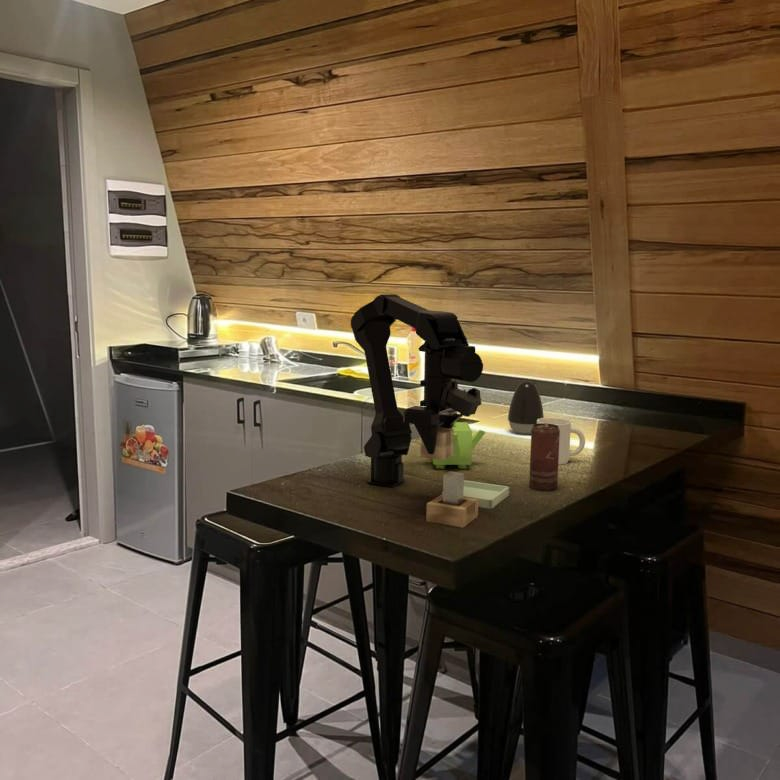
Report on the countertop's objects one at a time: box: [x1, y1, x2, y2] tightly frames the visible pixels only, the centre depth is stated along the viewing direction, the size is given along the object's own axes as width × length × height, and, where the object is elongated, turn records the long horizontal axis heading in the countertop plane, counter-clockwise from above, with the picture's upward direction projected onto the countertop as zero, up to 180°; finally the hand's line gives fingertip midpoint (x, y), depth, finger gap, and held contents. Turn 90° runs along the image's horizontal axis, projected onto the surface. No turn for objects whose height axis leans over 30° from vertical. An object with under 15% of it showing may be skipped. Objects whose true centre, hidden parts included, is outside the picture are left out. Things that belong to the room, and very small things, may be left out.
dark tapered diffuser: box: [507, 380, 545, 435], centre depth 231 cm, size 10×10×15 cm
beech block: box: [420, 427, 454, 461], centre depth 162 cm, size 5×5×6 cm
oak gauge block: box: [425, 493, 479, 529], centre depth 154 cm, size 8×8×4 cm
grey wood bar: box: [442, 470, 465, 506], centre depth 154 cm, size 3×3×9 cm
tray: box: [441, 479, 511, 510], centre depth 168 cm, size 11×11×2 cm
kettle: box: [411, 421, 486, 470], centre depth 194 cm, size 15×14×11 cm
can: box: [529, 423, 560, 492], centre depth 176 cm, size 6×6×14 cm
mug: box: [537, 417, 586, 466], centre depth 198 cm, size 12×8×10 cm
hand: (437, 451), depth 162 cm, fingers closed on beech block, 5 cm apart
